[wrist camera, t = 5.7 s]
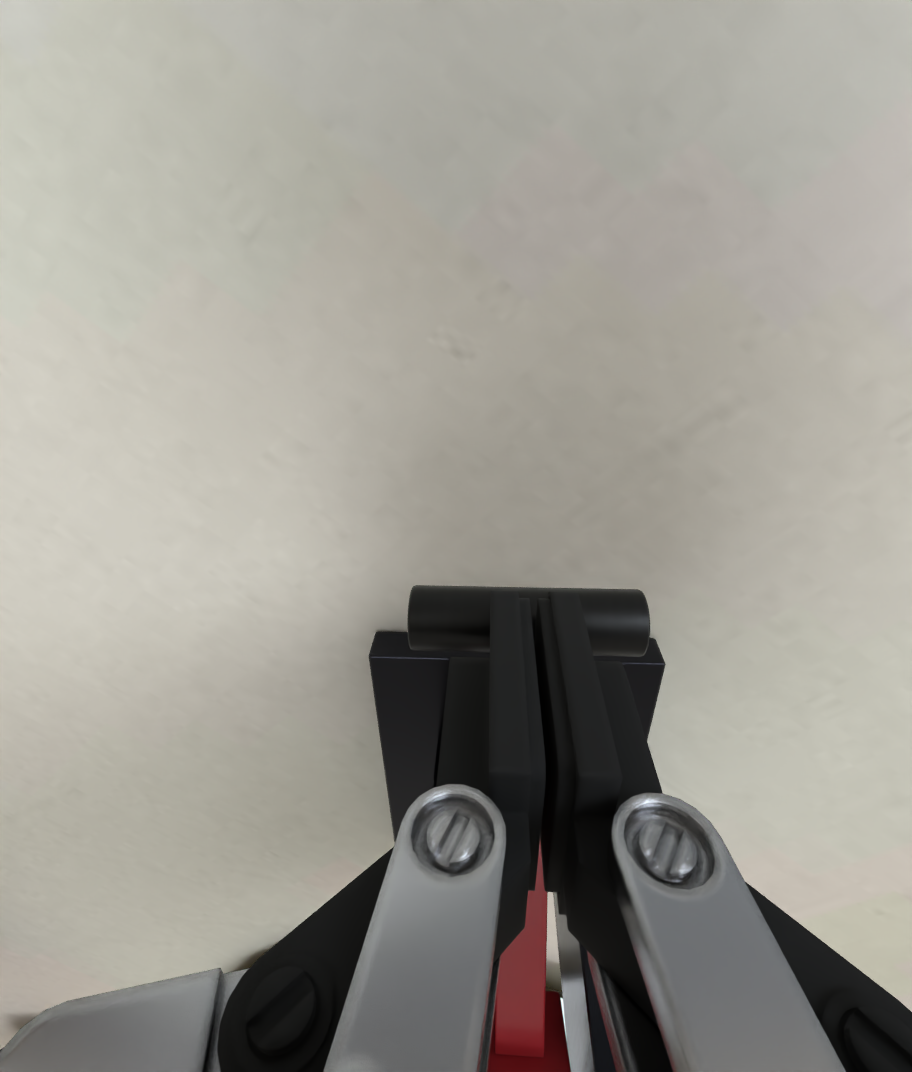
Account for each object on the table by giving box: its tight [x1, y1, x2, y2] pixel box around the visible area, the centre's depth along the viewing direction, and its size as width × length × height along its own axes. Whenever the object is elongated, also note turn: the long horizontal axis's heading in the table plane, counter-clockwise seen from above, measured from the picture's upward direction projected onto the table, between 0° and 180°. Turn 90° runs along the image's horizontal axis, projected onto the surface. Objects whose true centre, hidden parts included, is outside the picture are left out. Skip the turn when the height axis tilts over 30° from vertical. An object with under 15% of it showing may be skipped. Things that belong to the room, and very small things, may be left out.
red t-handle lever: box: [408, 585, 650, 1072], centre depth 12 cm, size 13×5×2 cm, turn 1°
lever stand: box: [369, 632, 665, 1072], centre depth 15 cm, size 12×9×11 cm
